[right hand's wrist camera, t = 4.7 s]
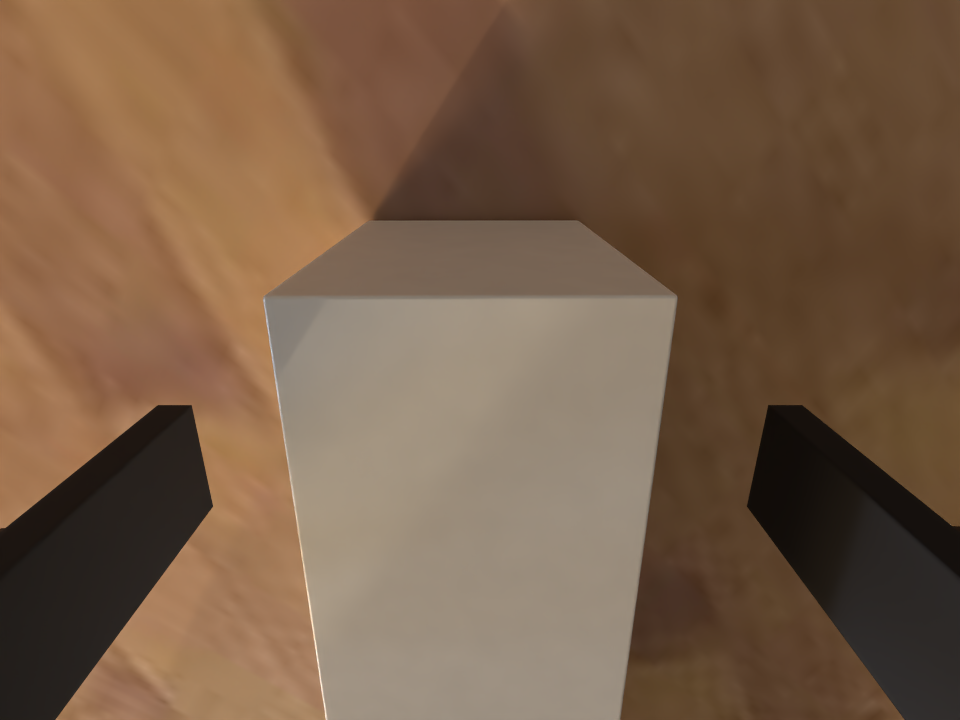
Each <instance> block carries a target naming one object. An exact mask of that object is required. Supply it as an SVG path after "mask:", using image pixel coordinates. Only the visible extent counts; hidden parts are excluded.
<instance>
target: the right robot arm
mask: <svg viewBox="0 0 960 720" xmlns="http://www.w3.org/2000/svg"><path fill="white" fill-rule="evenodd" d="M212 507H213V504H212V499H211V494H210V490H209V485H208V480H207V476H206V471H205V466H204V461H203V457H202V452H201V447H200V443H199V438H198V433H197V429H196V424H195V419H194V414H193V410H192V405H158V406H156V407H155V408H154V409H153V410H151V411H150V412H149V413H148V414H146V415H145V416H144V417H143V418H142V419H140V420H139V421H138V422H137V423H135V424H134V425H133V426H132V427H130V428H129V429H128V430H127V431H125V432H124V433H123V434H122V435H120V436H119V437H118V438H117V439H115V440H114V441H113V442H112V443H110V444H109V445H108V446H107V447H106V448H104V449H103V450H102V451H101V452H99V453H98V454H97V455H96V456H94V457H93V458H92V459H91V460H89V461H88V462H87V463H86V464H84V465H83V466H82V467H81V468H79V469H78V470H77V471H76V472H75V473H73V474H72V475H71V476H70V477H68V478H67V479H66V480H65V481H63V482H62V483H61V484H60V485H58V486H57V487H56V488H55V489H53V490H52V491H51V492H50V493H48V494H47V495H46V496H45V497H44V498H42V499H41V500H40V501H39V502H37V503H36V504H35V505H34V506H32V507H31V508H30V509H29V510H27V511H26V512H25V513H24V514H22V515H21V516H20V517H19V518H17V519H16V520H15V521H14V522H13V523H11V524H10V525H9V526H8V527H6V528H1V529H0V720H55V719H56V718H57V717H58V715H59V714H60V713H61V711H62V710H63V708H64V707H65V706H66V704H67V703H68V702H69V700H70V699H71V698H72V696H73V695H74V694H75V692H76V691H77V690H78V688H79V687H80V686H81V684H82V683H83V681H84V680H85V679H86V677H87V676H88V675H89V673H90V672H91V671H92V669H93V668H94V667H95V665H96V664H97V663H98V661H99V660H100V658H101V657H102V656H103V654H104V653H105V652H106V650H107V649H108V648H109V646H110V645H111V644H112V642H113V641H114V640H115V638H116V637H117V635H118V634H119V633H120V631H121V630H122V629H123V627H124V626H125V625H126V623H127V622H128V621H129V619H130V618H131V617H132V615H133V614H134V613H135V611H136V610H137V608H138V607H139V606H140V604H141V603H142V602H143V600H144V599H145V598H146V596H147V595H148V594H149V592H150V591H151V590H152V588H153V587H154V585H155V584H156V583H157V581H158V580H159V579H160V577H161V576H162V575H163V573H164V572H165V571H166V569H167V568H168V567H169V565H170V564H171V563H172V561H173V560H174V558H175V557H176V556H177V554H178V553H179V552H180V550H181V549H182V548H183V546H184V545H185V544H186V542H187V541H188V540H189V538H190V537H191V535H192V534H193V533H194V531H195V530H196V529H197V527H198V526H199V525H200V523H201V522H202V521H203V519H204V518H205V517H206V515H207V514H208V512H209V511H210V510H211V508H212ZM747 507H748V508H749V510H750V511H751V512H752V514H753V515H754V517H755V518H756V519H757V521H758V522H759V523H760V525H761V526H762V527H763V529H764V530H765V531H766V533H767V534H768V535H769V537H770V538H771V540H772V541H773V542H774V544H775V545H776V546H777V548H778V549H779V550H780V552H781V553H782V554H783V556H784V557H785V558H786V560H787V561H788V563H789V564H790V565H791V567H792V568H793V569H794V571H795V572H796V573H797V575H798V576H799V577H800V579H801V580H802V581H803V583H804V584H805V585H806V587H807V588H808V590H809V591H810V592H811V594H812V595H813V596H814V598H815V599H816V600H817V602H818V603H819V604H820V606H821V607H822V608H823V610H824V611H825V613H826V614H827V615H828V617H829V618H830V619H831V621H832V622H833V623H834V625H835V626H836V627H837V629H838V630H839V631H840V633H841V634H842V635H843V637H844V638H845V640H846V641H847V642H848V644H849V645H850V646H851V648H852V649H853V650H854V652H855V653H856V654H857V656H858V657H859V658H860V660H861V661H862V663H863V664H864V665H865V667H866V668H867V669H868V671H869V672H870V673H871V675H872V676H873V677H874V679H875V680H876V681H877V683H878V684H879V686H880V687H881V688H882V690H883V691H884V692H885V694H886V695H887V696H888V698H889V699H890V700H891V702H892V703H893V704H894V706H895V707H896V708H897V710H898V711H899V713H900V714H901V715H902V717H903V718H904V719H905V720H960V527H959V526H951V525H950V524H949V523H947V522H946V521H945V520H944V519H943V518H941V517H940V516H939V515H938V514H936V513H935V512H934V511H933V510H931V509H930V508H929V507H928V506H926V505H925V504H924V503H923V502H921V501H920V500H919V499H918V498H916V497H915V496H914V495H913V494H912V493H910V492H909V491H908V490H907V489H905V488H904V487H903V486H902V485H900V484H899V483H898V482H897V481H895V480H894V479H893V478H892V477H890V476H889V475H888V474H887V473H885V472H884V471H883V470H882V469H881V468H879V467H878V466H877V465H876V464H874V463H873V462H872V461H871V460H869V459H868V458H867V457H866V456H864V455H863V454H862V453H861V452H859V451H858V450H857V449H856V448H854V447H853V446H852V445H851V444H849V443H848V442H847V441H846V440H845V439H843V438H842V437H841V436H840V435H838V434H837V433H836V432H835V431H833V430H832V429H831V428H830V427H828V426H827V425H826V424H825V423H823V422H822V421H821V420H820V419H818V418H817V417H816V416H815V415H814V414H812V413H811V412H810V411H809V410H807V409H806V408H805V407H804V406H802V405H768V410H767V414H766V419H765V424H764V429H763V433H762V438H761V443H760V447H759V452H758V457H757V461H756V466H755V471H754V476H753V480H752V485H751V490H750V494H749V499H748V504H747Z"/></svg>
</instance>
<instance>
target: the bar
mask: <svg viewBox="0 0 960 720" xmlns="http://www.w3.org/2000/svg"><path fill="white" fill-rule="evenodd" d="M677 300H678V297H677V295H676V294H674V293H673V292H672V291H670V290H669V289H668V288H666V287H665V286H664V285H662V284H661V283H660V282H659V281H657V280H656V279H655V278H653V277H652V276H651V275H649V274H648V273H647V272H645V271H644V270H643V269H641V268H640V267H639V266H637V265H636V264H635V263H634V262H632V261H631V260H630V259H628V258H627V257H626V256H624V255H623V254H622V253H620V252H619V251H618V250H616V249H615V248H614V247H612V246H611V245H610V244H609V243H607V242H606V241H605V240H603V239H602V238H601V237H599V236H598V235H597V234H595V233H594V232H593V231H591V230H590V229H589V228H587V227H586V226H585V225H584V224H582V223H581V222H580V221H578V220H424V221H368V222H366V223H365V224H363V225H362V226H361V227H359V228H358V229H356V230H355V231H354V232H352V233H351V234H349V235H348V236H347V237H345V238H344V239H343V240H341V241H340V242H338V243H337V244H336V245H334V246H333V247H331V248H330V249H329V250H327V251H326V252H325V253H323V254H322V255H320V256H319V257H318V258H316V259H315V260H313V261H312V262H311V263H309V264H308V265H306V266H305V267H304V268H302V269H301V270H300V271H298V272H297V273H295V274H294V275H293V276H291V277H290V278H288V279H287V280H286V281H284V282H283V283H281V284H280V285H279V286H277V287H276V288H275V289H273V290H272V291H270V292H269V293H268V294H266V295H265V296H264V298H263V301H264V308H265V315H266V321H267V328H268V335H269V341H270V348H271V355H272V361H273V368H274V375H275V382H276V388H277V395H278V402H279V408H280V415H281V422H282V428H283V435H284V442H285V448H286V455H287V462H288V468H289V475H290V482H291V488H292V495H293V502H294V508H295V515H296V522H297V528H298V535H299V542H300V549H301V555H302V562H303V569H304V575H305V582H306V589H307V595H308V602H309V609H310V615H311V622H312V629H313V635H314V642H315V649H316V655H317V662H318V669H319V675H320V682H321V689H322V695H323V702H324V709H325V716H326V720H620V718H621V710H622V703H623V696H624V688H625V681H626V674H627V666H628V659H629V652H630V644H631V637H632V630H633V622H634V615H635V608H636V600H637V593H638V586H639V578H640V571H641V564H642V557H643V549H644V542H645V535H646V527H647V520H648V513H649V505H650V498H651V491H652V483H653V476H654V469H655V461H656V454H657V447H658V439H659V432H660V425H661V417H662V410H663V403H664V395H665V388H666V381H667V373H668V366H669V359H670V351H671V344H672V337H673V329H674V322H675V315H676V307H677Z"/></svg>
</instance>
